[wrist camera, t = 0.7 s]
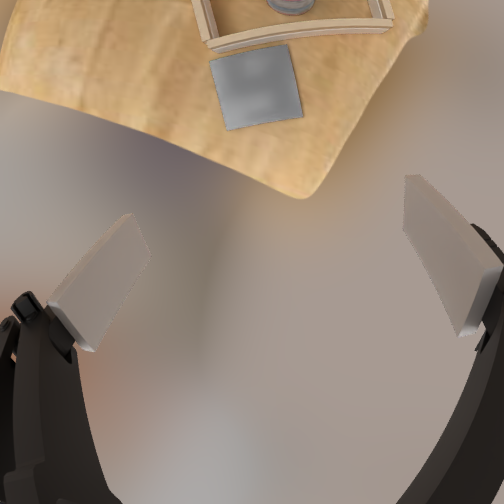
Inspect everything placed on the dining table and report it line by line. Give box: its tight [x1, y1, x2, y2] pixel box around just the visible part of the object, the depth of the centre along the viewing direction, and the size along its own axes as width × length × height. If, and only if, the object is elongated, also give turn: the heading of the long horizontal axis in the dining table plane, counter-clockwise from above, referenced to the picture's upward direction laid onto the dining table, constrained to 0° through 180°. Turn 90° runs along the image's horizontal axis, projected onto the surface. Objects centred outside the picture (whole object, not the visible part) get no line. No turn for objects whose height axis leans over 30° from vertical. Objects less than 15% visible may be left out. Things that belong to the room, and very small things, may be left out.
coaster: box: [209, 44, 303, 131], centre depth 31 cm, size 10×10×1 cm
